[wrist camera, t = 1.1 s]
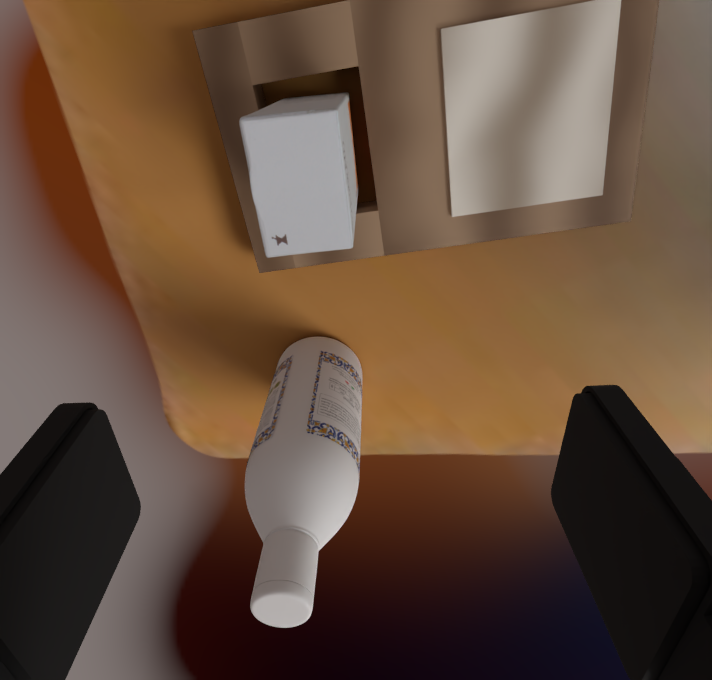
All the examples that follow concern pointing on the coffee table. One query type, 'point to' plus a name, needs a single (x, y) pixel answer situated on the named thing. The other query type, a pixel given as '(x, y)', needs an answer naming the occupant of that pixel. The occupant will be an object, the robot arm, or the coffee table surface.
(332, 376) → the bath foam
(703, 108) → the coffee table surface
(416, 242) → the walnut frame
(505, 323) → the coffee table surface
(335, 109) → the skincare box
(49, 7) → the coffee table surface
